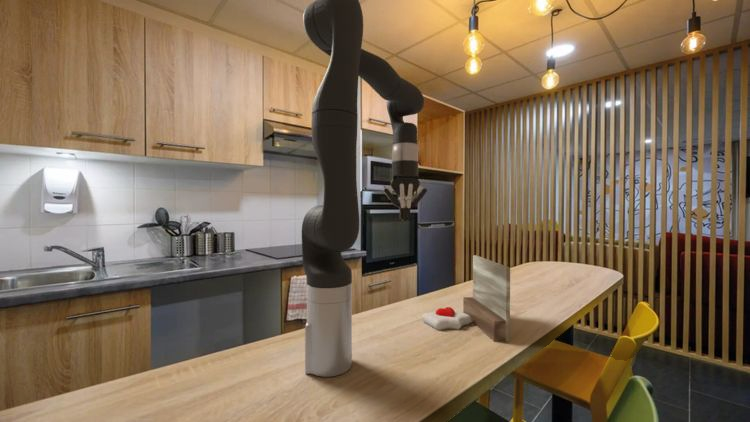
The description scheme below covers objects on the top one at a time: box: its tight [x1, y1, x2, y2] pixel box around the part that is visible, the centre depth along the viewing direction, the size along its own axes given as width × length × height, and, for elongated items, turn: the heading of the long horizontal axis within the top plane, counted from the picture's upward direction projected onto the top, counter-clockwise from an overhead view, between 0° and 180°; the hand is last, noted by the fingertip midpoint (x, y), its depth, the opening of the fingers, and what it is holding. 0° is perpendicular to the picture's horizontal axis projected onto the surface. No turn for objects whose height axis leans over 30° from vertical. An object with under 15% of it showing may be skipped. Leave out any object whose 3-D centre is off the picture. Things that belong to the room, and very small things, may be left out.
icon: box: [421, 306, 472, 331], centre depth 88 cm, size 12×4×10 cm
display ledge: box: [462, 254, 511, 342], centre depth 86 cm, size 4×20×18 cm, turn 5°
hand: (404, 221), depth 90 cm, fingers closed
